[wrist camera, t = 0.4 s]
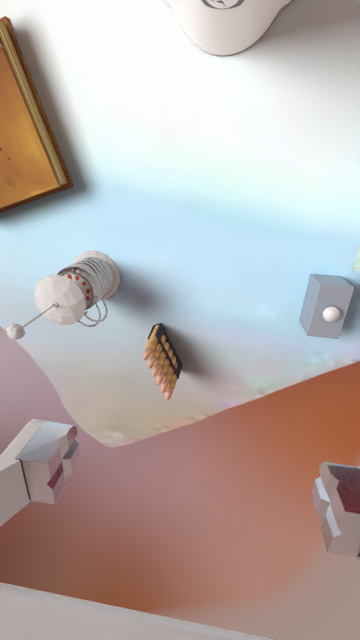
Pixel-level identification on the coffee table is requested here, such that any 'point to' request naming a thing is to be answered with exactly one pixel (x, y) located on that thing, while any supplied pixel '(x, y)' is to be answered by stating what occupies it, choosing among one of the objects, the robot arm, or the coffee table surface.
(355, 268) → the stand
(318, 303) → the block
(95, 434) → the coffee table surface
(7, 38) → the diary
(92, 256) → the french press
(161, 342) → the ammunition clip
